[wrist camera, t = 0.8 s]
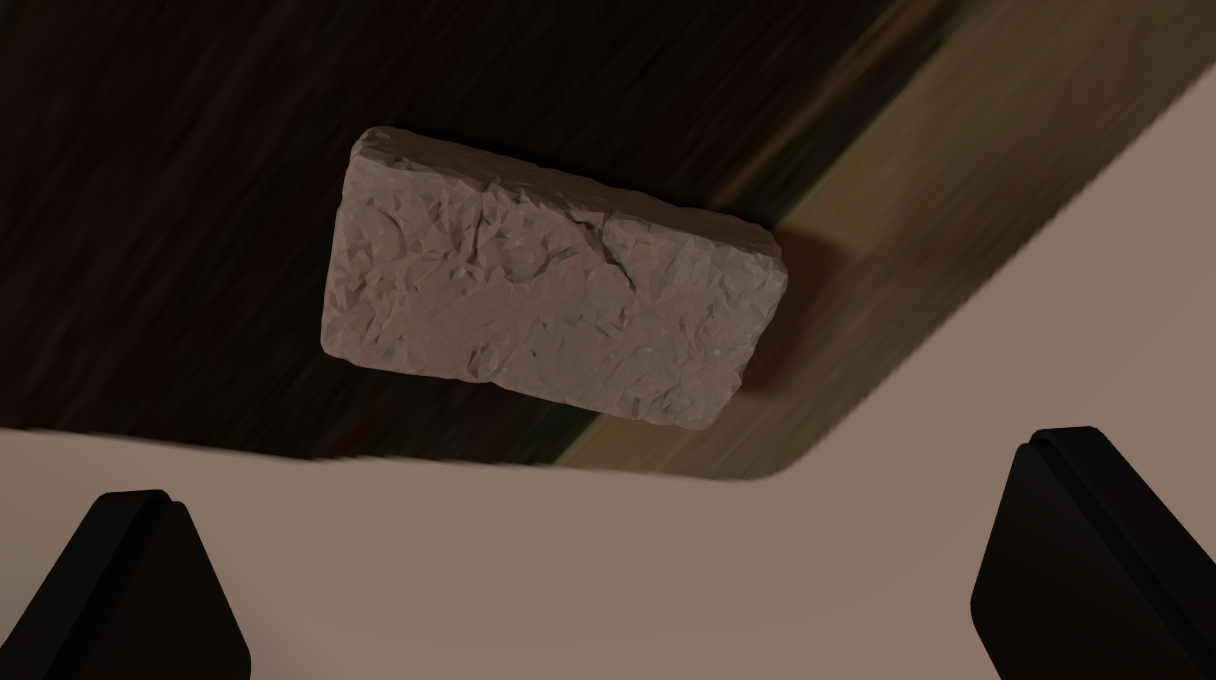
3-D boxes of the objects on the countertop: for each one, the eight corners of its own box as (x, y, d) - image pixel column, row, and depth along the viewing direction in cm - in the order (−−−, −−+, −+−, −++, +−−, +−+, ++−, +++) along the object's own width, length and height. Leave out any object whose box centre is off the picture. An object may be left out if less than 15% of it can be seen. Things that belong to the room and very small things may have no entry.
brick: (779, 220, 34) (809, 275, 30) (706, 383, 38) (723, 450, 34) (367, 106, 31) (339, 150, 27) (336, 298, 35) (308, 361, 31)
